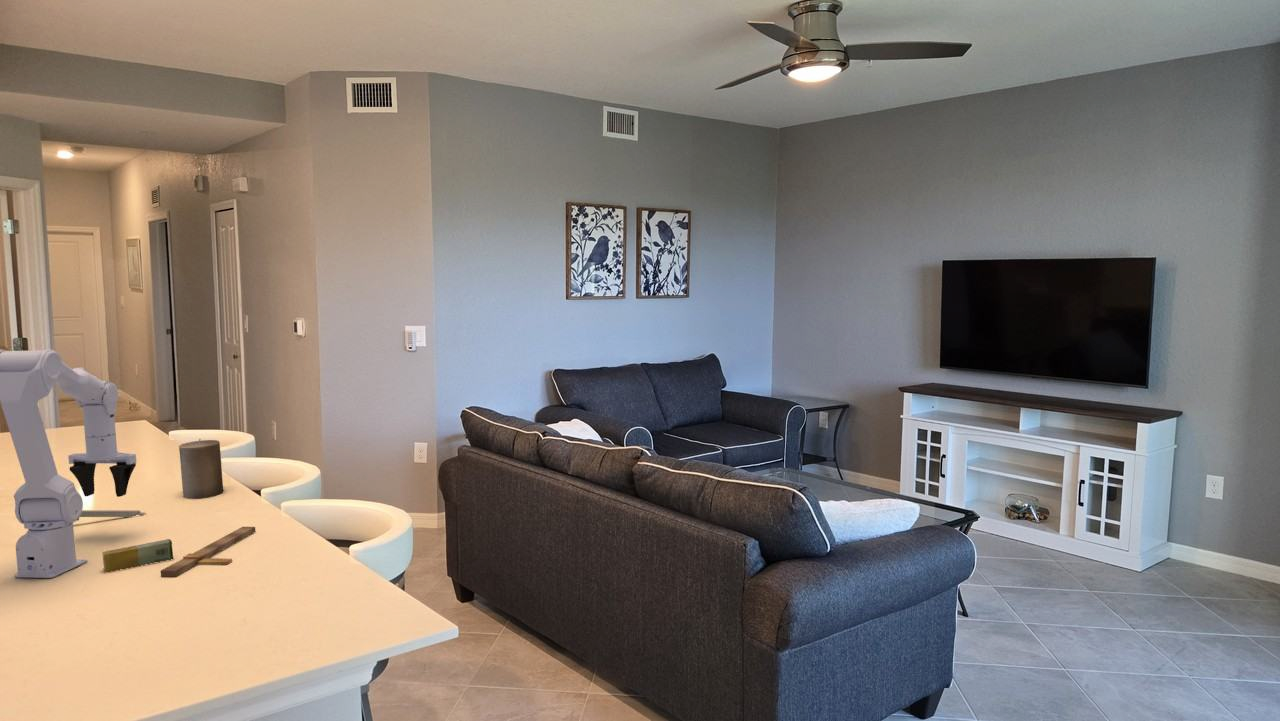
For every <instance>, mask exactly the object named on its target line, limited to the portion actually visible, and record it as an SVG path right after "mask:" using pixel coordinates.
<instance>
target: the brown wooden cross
mask: <svg viewBox="0 0 1280 721" xmlns="http://www.w3.org/2000/svg"><path fill="white" fill-rule="evenodd" d="M253 532H255V533H256V527H255V526H241V527H239V528H237V529H235V530H234V531H232V532H230V533H228V534H226V535H224V536H222V537H221V538H219V539H216V540H215V541H214V542H211V543H210V544H208V545H205V546H204V547H202V548H200V549H198V550H196V551H194V552H192V553H188V554H185V555H183V557H182V558H181V559H179V560H178V561H176V562H174V563H172V564H171V565H168V566H166V567H165V568H163V569H160V577H161V578H177V577H178V576H180V575H182V574H184V573H186V572H187V571H189V570H190V568H191V569H192V567H193V568H195V565H196V566H198V565H202V564H215V565H214V566H217V565H216V564H223V565H222V566H228V565H229V564H231V563H233V558H223V557H222V558H220V557H219V558H218V557H217V558H214V556H216V555H217V554H219V553H221V552H222V550H223V549H225V548H226V549H228V548H230V547H231V546H230V545H232V544H233V545H235V544H237V543H238V542H237V541H239V540H240V541H242V540H243V538H244V539H246V538H247V537H246V536H248V535H249V536H251V535H253V534H254V533H253ZM252 533H253V534H252ZM250 534H251V535H250ZM249 536H248V537H249ZM245 537H246V538H245ZM241 539H242V540H241ZM240 541H239V542H240ZM236 542H237V543H236ZM234 543H235V544H234ZM233 545H232V546H233ZM229 546H230V547H229ZM227 547H228V548H227ZM226 549H225V550H226ZM220 551H221V552H220ZM223 551H224V550H223ZM218 552H219V553H218ZM216 553H217V554H216ZM215 554H216V555H215ZM213 555H214V556H213ZM211 556H212V557H211ZM209 557H210V558H209ZM230 562H231V563H230ZM228 563H229V564H228ZM197 564H198V565H197ZM185 571H186V572H185ZM183 572H184V573H183Z"/></svg>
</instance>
